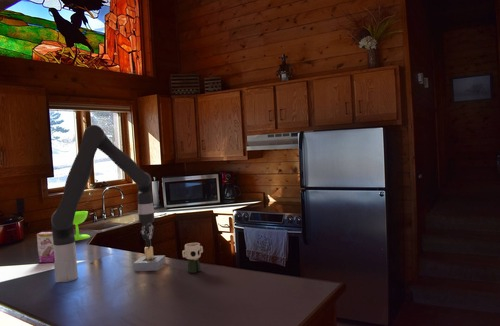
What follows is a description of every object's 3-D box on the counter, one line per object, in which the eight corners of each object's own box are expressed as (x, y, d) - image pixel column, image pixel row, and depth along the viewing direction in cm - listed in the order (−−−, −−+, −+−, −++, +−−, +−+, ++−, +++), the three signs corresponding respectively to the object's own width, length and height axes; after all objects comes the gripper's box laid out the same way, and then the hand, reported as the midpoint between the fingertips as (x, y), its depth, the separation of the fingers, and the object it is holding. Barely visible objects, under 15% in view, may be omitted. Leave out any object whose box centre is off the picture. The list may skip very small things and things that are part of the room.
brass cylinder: (152, 268, 196) (151, 248, 196) (144, 268, 197) (143, 248, 196) (155, 265, 200) (153, 246, 200) (147, 266, 201) (146, 246, 200)
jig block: (157, 270, 192) (157, 262, 192) (134, 271, 193) (133, 263, 193) (165, 263, 204) (165, 255, 204) (143, 263, 205) (142, 256, 205)
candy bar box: (38, 263, 220) (35, 234, 220) (43, 260, 225) (41, 232, 224) (57, 262, 219) (54, 233, 218) (62, 260, 224) (60, 231, 223)
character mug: (188, 276, 180) (186, 248, 179) (180, 273, 185) (178, 245, 185) (208, 270, 187) (206, 243, 186) (200, 267, 192) (198, 241, 192)
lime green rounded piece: (60, 240, 277) (58, 215, 276) (76, 235, 292) (74, 211, 292) (79, 241, 273) (77, 215, 272) (94, 235, 288) (92, 211, 287)
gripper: (148, 214, 190) (151, 250, 191) (157, 209, 204) (160, 243, 204) (133, 215, 191) (136, 250, 192) (143, 210, 204) (146, 243, 205)
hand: (148, 246), depth 198 cm, fingers closed
